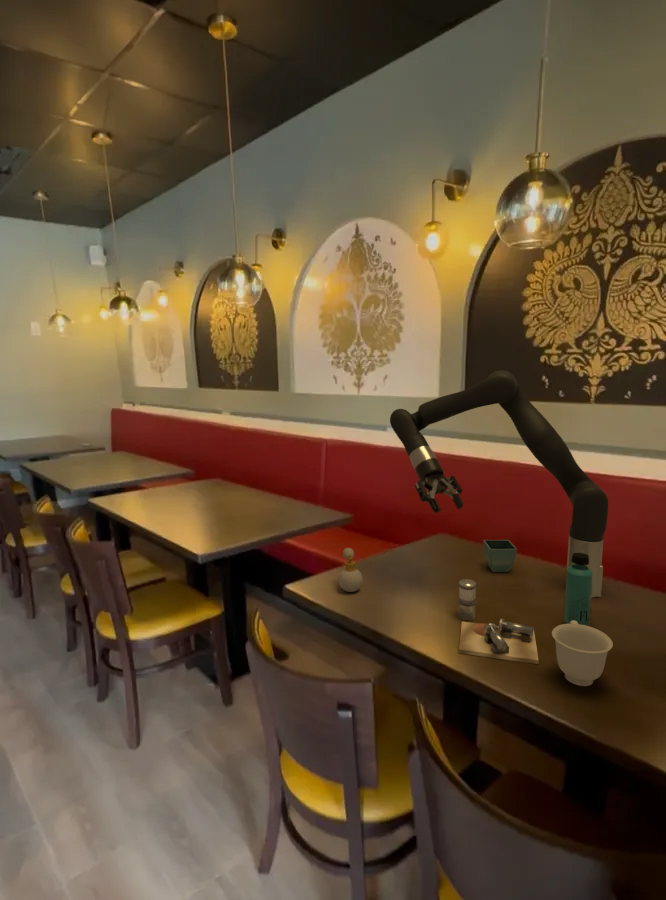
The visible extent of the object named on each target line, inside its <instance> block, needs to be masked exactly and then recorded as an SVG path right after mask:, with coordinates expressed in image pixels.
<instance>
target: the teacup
mask: <svg viewBox="0 0 666 900" xmlns="http://www.w3.org/2000/svg"><path fill="white" fill-rule="evenodd" d="M551 636H552V638H553V639H554V642H555V652H556V661H557V664H558V667H559V669H560V670H561V671H562V672H563V673H564V677H565V679H566V680H567V681H568V682H569V683H572V684H573V685H576V686H580V687H588V686H592V684H593V683H594V681H595V680H597V679H598V678H600V677H601V675H602V673H603V672H604V669H605V664H606V660H607V655H608V653H609V651H610V650H611V649H613V645H614V644H613V643H614V642H613V640H612V639H611V638H610V636H609V635H607V634H606V633H605V632H603V631H602V630H599V629H597V628H596V627H595V628H594V627H592V626H590V625H588V626H586V625H580V624H578V623H577V621H574V620H573V621H571V622H570V624H568V623H563V624H562V623H561V624H559V625H556V626H555V627H554V628H553V629H552V631H551Z"/></svg>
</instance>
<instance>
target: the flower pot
mask: <svg viewBox="0 0 666 900" xmlns="http://www.w3.org/2000/svg"><path fill="white" fill-rule="evenodd" d="M517 550H518V549H517V547H516V546H515V545H514V544H513V543H512V542H511V541H510V540H509V539H483V552H484V557H485V560H486V563H487V565H488V567H489V568H490V570H491V571H492V572H493V573H508V572H510V570H511V569H512V568H513V566H514V565H515V560H516V555H517Z"/></svg>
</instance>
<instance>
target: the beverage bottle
mask: <svg viewBox="0 0 666 900" xmlns="http://www.w3.org/2000/svg"><path fill="white" fill-rule="evenodd" d="M571 561H572V562H573V563H574V564H573V565H571V566H569V567H568V568H567V567H566V577H565V578H566V580H565V592H564V601H563V602H564V604H563V605H564V606H563V619H564V620H563V621H564V622H565V623H566V624H570V622H571V621H573V620H574V621H577V623H578V624H580V625H586V626H590V625H589V624H590V623H591V622H590V621H591V615H592V606H591V605H592V598H591V595H592V588H593V587H592V584H593V583H592V576H593V572H592V571H591V569H590V568H588V567H587V566H585V565H588V564H589V556H588V555H587V554H584V553H573V555H572V560H571Z"/></svg>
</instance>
